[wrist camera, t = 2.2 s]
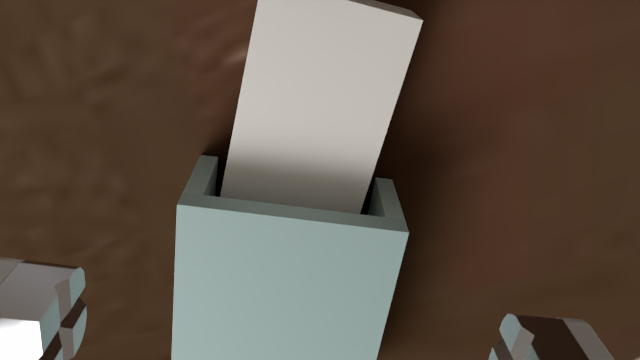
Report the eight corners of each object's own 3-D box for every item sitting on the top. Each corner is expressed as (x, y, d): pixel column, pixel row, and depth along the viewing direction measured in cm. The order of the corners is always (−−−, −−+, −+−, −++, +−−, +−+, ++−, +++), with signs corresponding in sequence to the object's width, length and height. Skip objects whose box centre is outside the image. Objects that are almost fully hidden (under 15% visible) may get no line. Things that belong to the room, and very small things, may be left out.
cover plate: (409, 8, 22) (423, 20, 19) (325, 276, 28) (327, 313, 25) (268, -30, 21) (262, -23, 19) (212, 253, 27) (201, 289, 24)
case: (392, 179, 25) (409, 232, 21) (348, 367, 30) (355, 441, 26) (200, 154, 24) (177, 204, 20) (189, 351, 29) (169, 424, 25)
